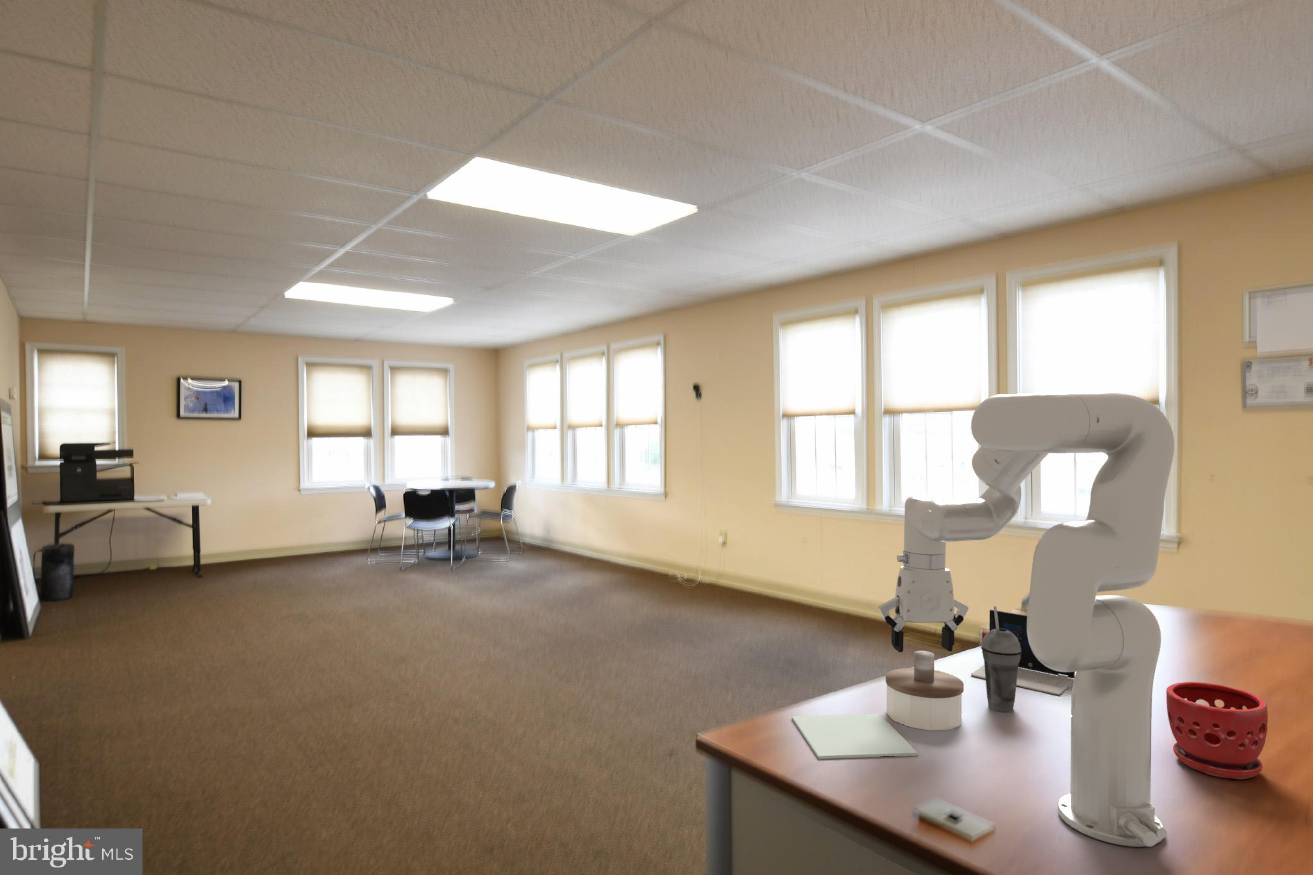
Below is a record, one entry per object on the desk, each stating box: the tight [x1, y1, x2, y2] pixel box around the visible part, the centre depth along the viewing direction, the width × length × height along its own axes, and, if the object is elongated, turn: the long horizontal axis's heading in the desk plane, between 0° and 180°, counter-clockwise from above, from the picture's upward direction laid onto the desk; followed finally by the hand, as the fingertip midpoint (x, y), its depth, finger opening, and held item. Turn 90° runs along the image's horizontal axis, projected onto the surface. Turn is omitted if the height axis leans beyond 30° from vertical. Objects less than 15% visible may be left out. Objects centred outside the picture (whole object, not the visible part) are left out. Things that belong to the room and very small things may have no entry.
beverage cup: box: [980, 605, 1022, 713], centre depth 145 cm, size 7×7×20 cm
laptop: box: [970, 609, 1076, 696], centre depth 162 cm, size 18×12×13 cm
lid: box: [885, 650, 965, 698], centre depth 141 cm, size 14×14×6 cm
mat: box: [791, 713, 919, 760], centre depth 132 cm, size 17×17×1 cm
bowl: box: [886, 684, 963, 731], centre depth 141 cm, size 13×13×6 cm
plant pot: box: [1165, 681, 1269, 781], centre depth 120 cm, size 13×13×12 cm
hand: (922, 649), depth 141 cm, fingers open, 9 cm apart
